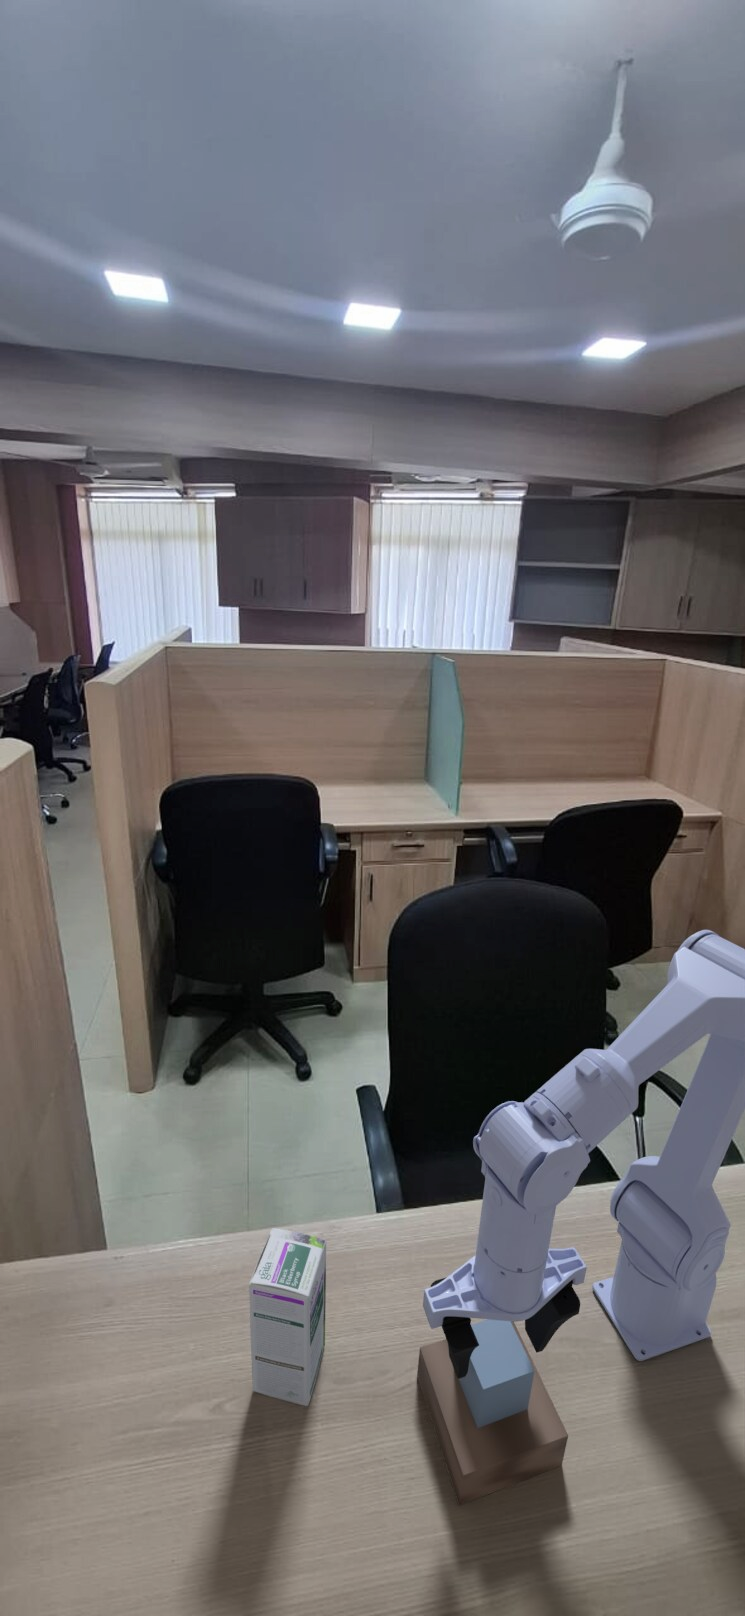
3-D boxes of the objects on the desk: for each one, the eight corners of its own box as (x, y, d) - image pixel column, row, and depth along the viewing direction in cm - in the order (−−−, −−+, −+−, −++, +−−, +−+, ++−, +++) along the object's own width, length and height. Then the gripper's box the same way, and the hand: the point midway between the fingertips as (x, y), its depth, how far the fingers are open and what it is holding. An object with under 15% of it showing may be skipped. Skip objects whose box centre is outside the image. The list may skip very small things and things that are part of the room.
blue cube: (500, 1350, 63) (506, 1313, 61) (527, 1409, 58) (534, 1370, 57) (453, 1366, 61) (458, 1328, 60) (477, 1428, 57) (483, 1389, 55)
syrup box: (309, 1409, 61) (312, 1297, 56) (249, 1392, 62) (248, 1282, 57) (325, 1344, 66) (329, 1238, 62) (270, 1330, 67) (270, 1224, 63)
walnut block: (507, 1346, 67) (512, 1318, 66) (561, 1464, 58) (568, 1435, 57) (417, 1375, 64) (419, 1347, 63) (459, 1505, 55) (463, 1475, 54)
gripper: (562, 1180, 60) (543, 1287, 64) (414, 1217, 55) (405, 1329, 60) (610, 1251, 53) (585, 1365, 58) (447, 1299, 49) (434, 1418, 53)
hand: (496, 1352), depth 58 cm, fingers open, 7 cm apart
